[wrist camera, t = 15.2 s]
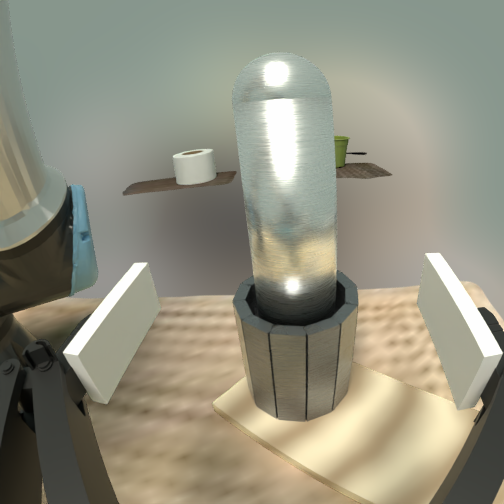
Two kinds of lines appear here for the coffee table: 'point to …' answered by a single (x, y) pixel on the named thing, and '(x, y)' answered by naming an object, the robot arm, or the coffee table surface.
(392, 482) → the birch board
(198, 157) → the toilet paper roll
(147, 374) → the coffee table surface
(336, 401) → the grey wooden bucket
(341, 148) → the plant pot
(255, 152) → the polished capsule rod
